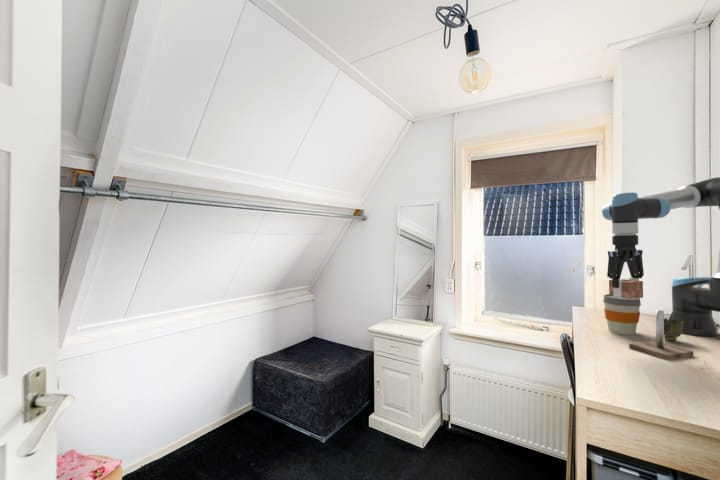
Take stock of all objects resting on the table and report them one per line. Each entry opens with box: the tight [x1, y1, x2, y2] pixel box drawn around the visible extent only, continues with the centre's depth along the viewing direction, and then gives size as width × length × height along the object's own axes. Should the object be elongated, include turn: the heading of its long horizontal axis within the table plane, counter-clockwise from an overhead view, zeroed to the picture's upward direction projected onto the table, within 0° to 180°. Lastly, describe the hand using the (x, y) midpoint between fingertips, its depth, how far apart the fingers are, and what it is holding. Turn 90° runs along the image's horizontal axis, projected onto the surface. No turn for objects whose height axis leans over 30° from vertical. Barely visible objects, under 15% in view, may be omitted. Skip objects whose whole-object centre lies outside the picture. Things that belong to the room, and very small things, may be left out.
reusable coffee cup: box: [602, 293, 642, 336], centre depth 139 cm, size 13×12×15 cm
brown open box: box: [608, 278, 644, 299], centre depth 121 cm, size 7×7×6 cm
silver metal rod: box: [655, 309, 665, 348], centre depth 114 cm, size 2×2×13 cm
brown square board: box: [628, 340, 694, 361], centre depth 114 cm, size 12×12×2 cm
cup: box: [664, 317, 684, 342], centre depth 126 cm, size 8×7×8 cm
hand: (625, 295), depth 121 cm, fingers closed on brown open box, 7 cm apart
